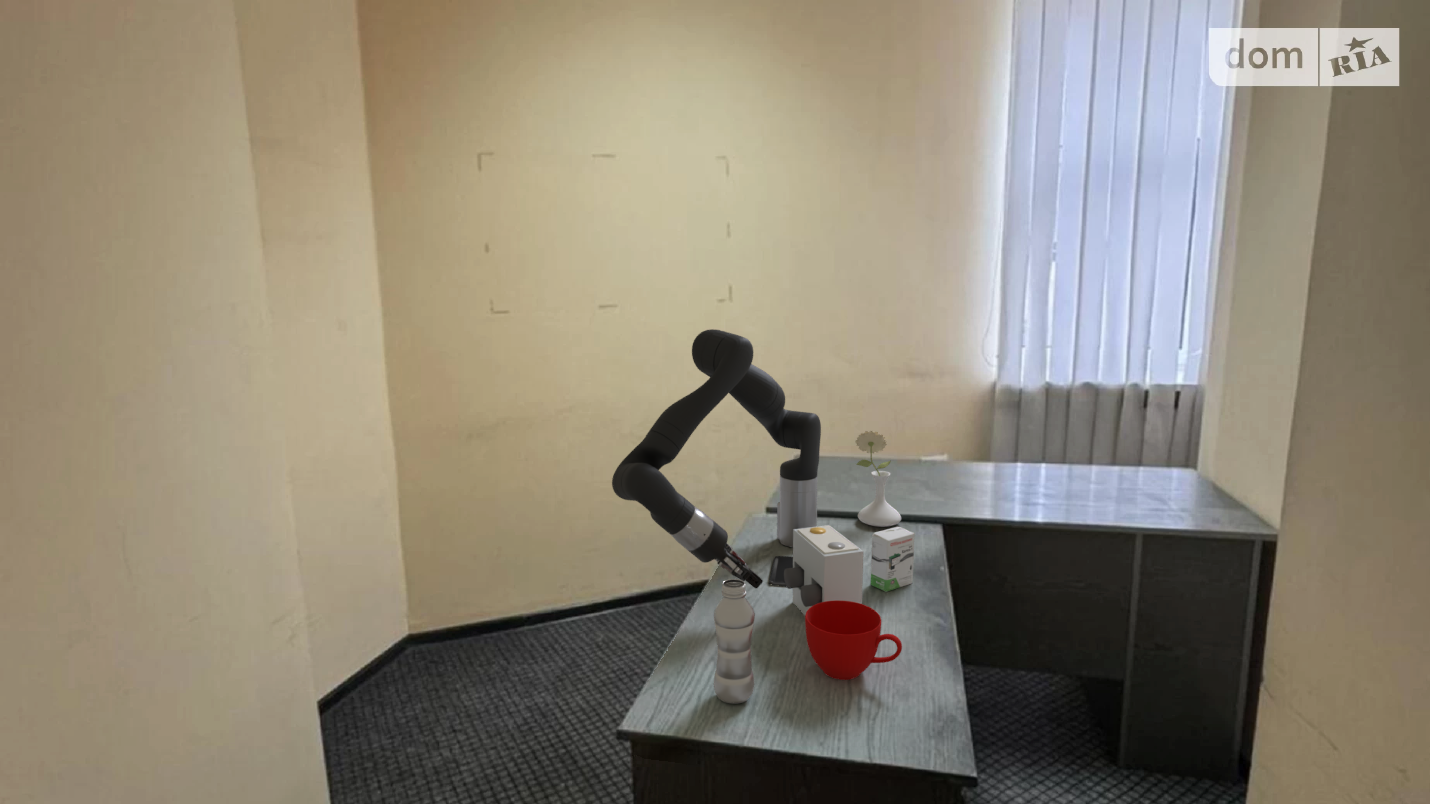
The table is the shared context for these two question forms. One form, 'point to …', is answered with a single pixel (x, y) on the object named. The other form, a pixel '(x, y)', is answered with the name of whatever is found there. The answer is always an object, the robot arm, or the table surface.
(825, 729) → the table surface
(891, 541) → the ink box
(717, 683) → the plastic bottle
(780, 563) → the phone
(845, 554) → the console
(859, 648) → the ceramic cup
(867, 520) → the flower in vase
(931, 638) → the table surface
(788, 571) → the button
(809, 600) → the button
